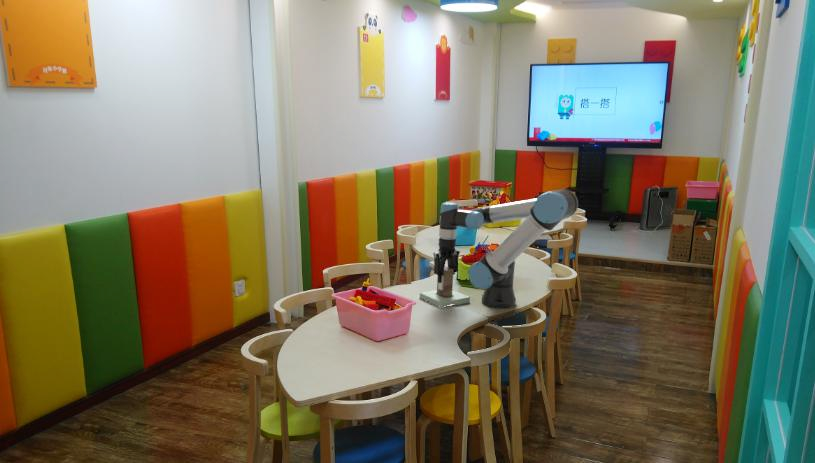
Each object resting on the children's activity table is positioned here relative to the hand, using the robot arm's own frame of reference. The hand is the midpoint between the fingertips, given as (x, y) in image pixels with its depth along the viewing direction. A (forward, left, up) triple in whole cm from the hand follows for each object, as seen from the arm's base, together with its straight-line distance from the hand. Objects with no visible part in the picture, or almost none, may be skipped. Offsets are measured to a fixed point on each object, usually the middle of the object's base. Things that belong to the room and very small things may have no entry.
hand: (444, 288), depth 258 cm
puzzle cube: (+23, -33, -6) cm, 41 cm away
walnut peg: (0, 0, -4) cm, 4 cm away
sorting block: (0, 0, -5) cm, 5 cm away
